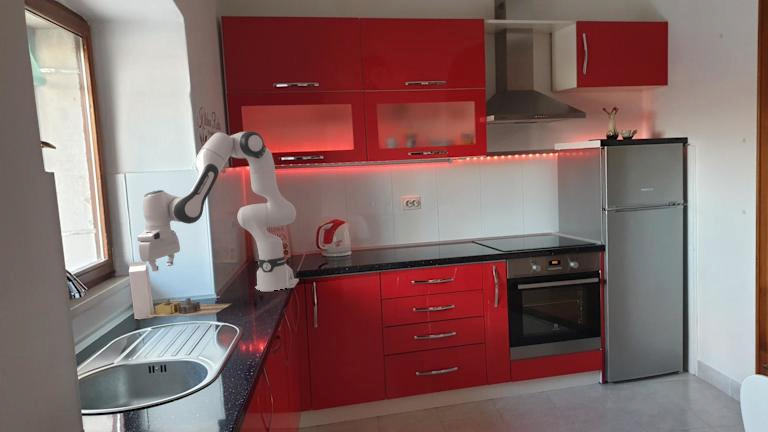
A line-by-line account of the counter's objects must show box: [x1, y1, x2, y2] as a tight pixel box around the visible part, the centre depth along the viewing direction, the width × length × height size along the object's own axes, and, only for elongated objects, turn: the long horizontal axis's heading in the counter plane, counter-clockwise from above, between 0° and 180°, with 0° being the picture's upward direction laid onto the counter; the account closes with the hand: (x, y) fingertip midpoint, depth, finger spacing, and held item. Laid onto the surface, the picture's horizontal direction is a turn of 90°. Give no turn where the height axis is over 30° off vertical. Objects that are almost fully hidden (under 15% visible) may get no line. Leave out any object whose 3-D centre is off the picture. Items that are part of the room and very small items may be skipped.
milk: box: [128, 260, 155, 320], centre depth 201 cm, size 6×6×22 cm
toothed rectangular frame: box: [154, 301, 182, 314], centre depth 200 cm, size 6×8×3 cm
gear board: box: [147, 297, 232, 319], centre depth 201 cm, size 15×27×6 cm, turn 79°
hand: (163, 268), depth 199 cm, fingers open, 8 cm apart
